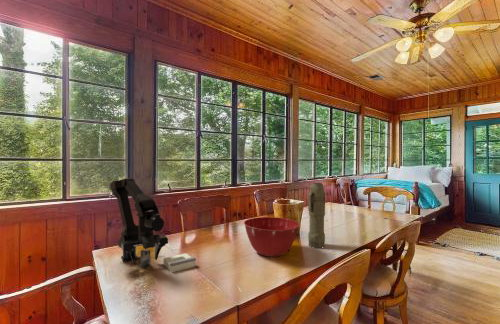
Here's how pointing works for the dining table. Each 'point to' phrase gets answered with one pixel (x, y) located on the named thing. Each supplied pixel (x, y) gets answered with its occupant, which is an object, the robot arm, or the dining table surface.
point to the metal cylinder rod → (145, 258)
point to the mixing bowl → (271, 234)
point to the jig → (179, 262)
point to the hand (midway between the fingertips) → (145, 261)
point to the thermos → (316, 215)
